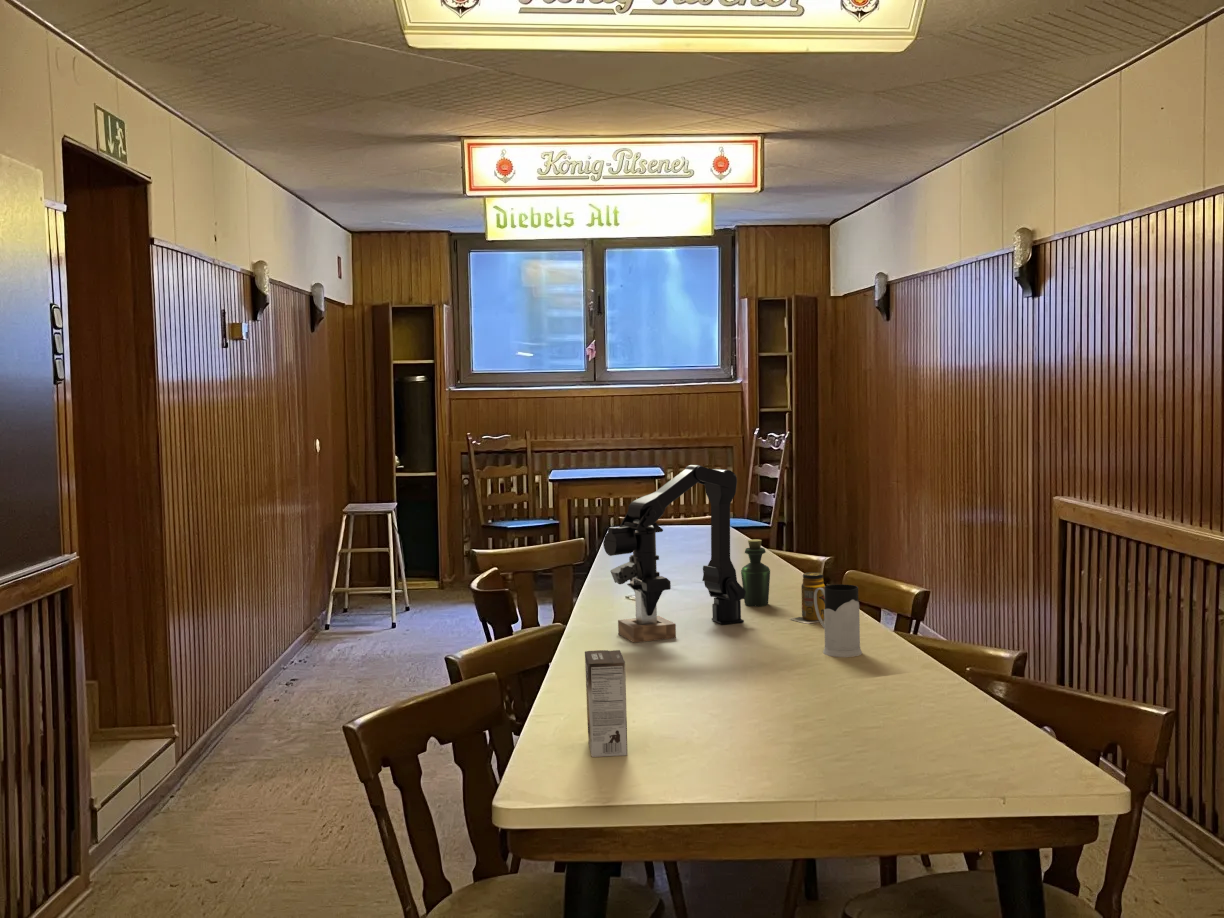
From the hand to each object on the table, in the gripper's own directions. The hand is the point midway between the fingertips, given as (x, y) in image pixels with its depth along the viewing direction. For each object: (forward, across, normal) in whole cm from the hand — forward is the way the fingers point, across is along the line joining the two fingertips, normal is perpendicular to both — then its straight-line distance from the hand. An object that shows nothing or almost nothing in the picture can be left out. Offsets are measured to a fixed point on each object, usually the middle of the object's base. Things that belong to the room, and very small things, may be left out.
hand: (646, 613), depth 281 cm
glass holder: (+6, +34, +33) cm, 48 cm away
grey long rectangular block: (+4, 0, 0) cm, 4 cm away
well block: (+6, 0, 0) cm, 6 cm away
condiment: (+6, +2, +45) cm, 45 cm away
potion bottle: (+6, -23, +42) cm, 48 cm away
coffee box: (+6, +78, -38) cm, 87 cm away
